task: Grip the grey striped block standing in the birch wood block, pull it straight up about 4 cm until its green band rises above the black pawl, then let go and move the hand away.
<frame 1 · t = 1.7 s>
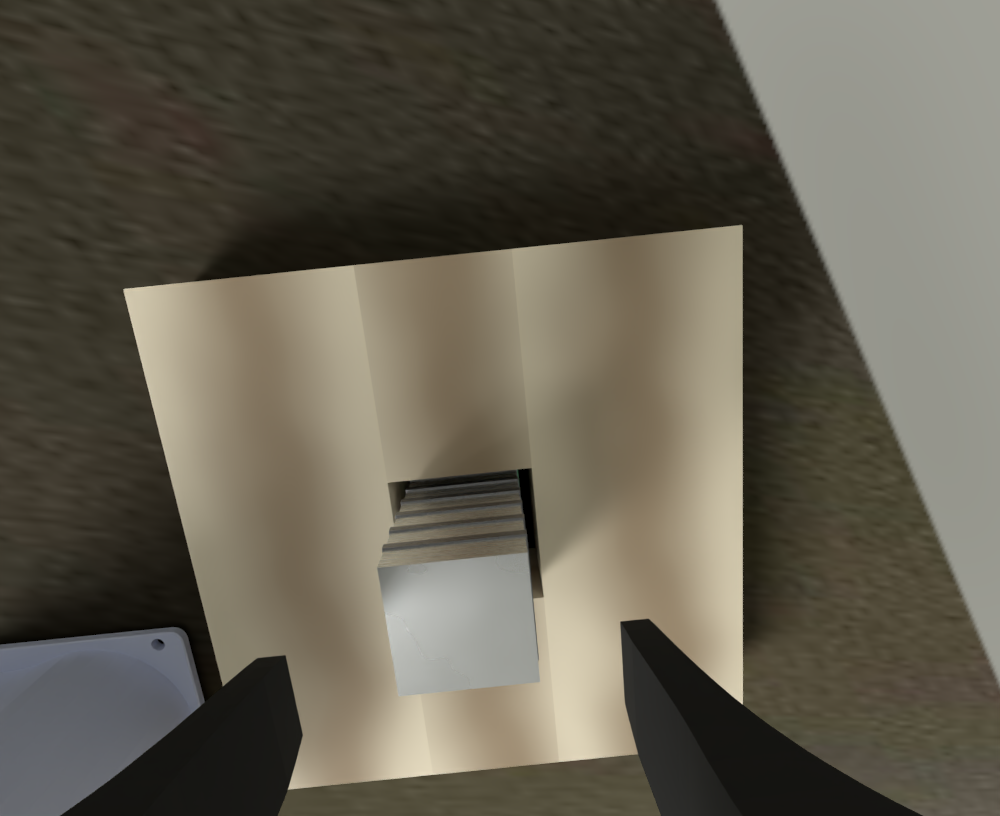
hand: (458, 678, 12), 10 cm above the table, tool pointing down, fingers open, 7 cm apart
stand block: (471, 500, 21), on the table
grey striped block: (467, 551, 17), point 4 cm above the table, slide at 0.0 cm
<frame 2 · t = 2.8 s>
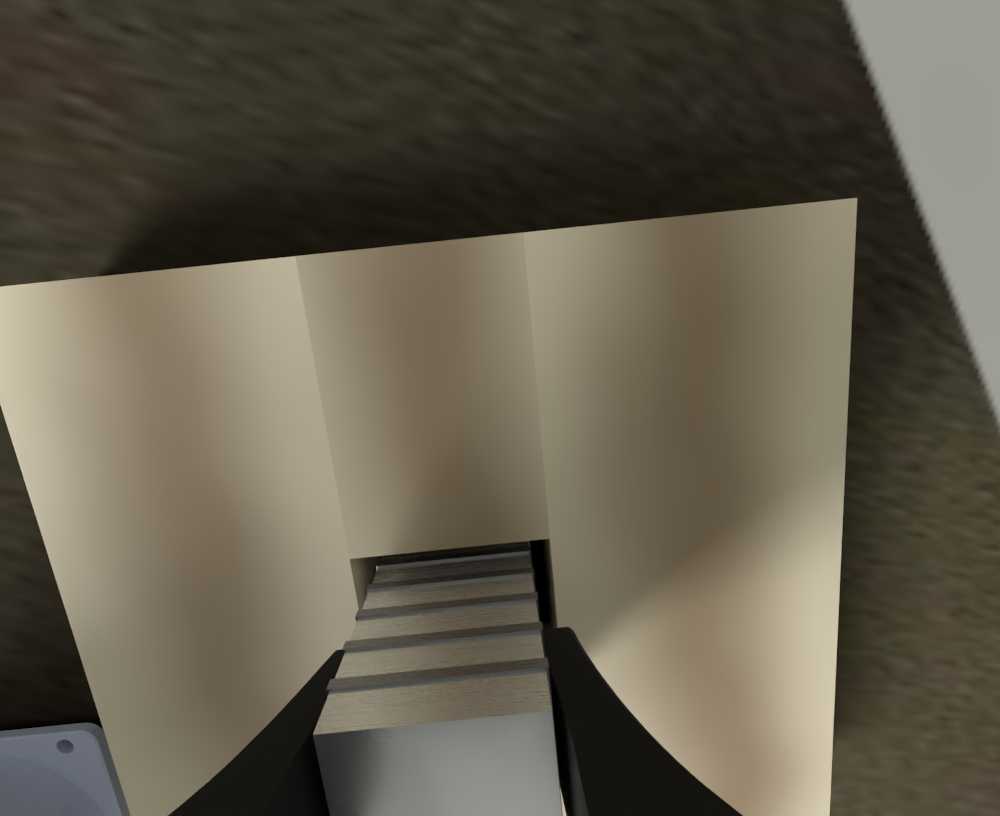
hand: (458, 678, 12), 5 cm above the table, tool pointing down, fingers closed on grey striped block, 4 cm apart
stand block: (467, 563, 16), on the table
grey striped block: (460, 655, 12), point 4 cm above the table, slide at 0.0 cm, touching gripper
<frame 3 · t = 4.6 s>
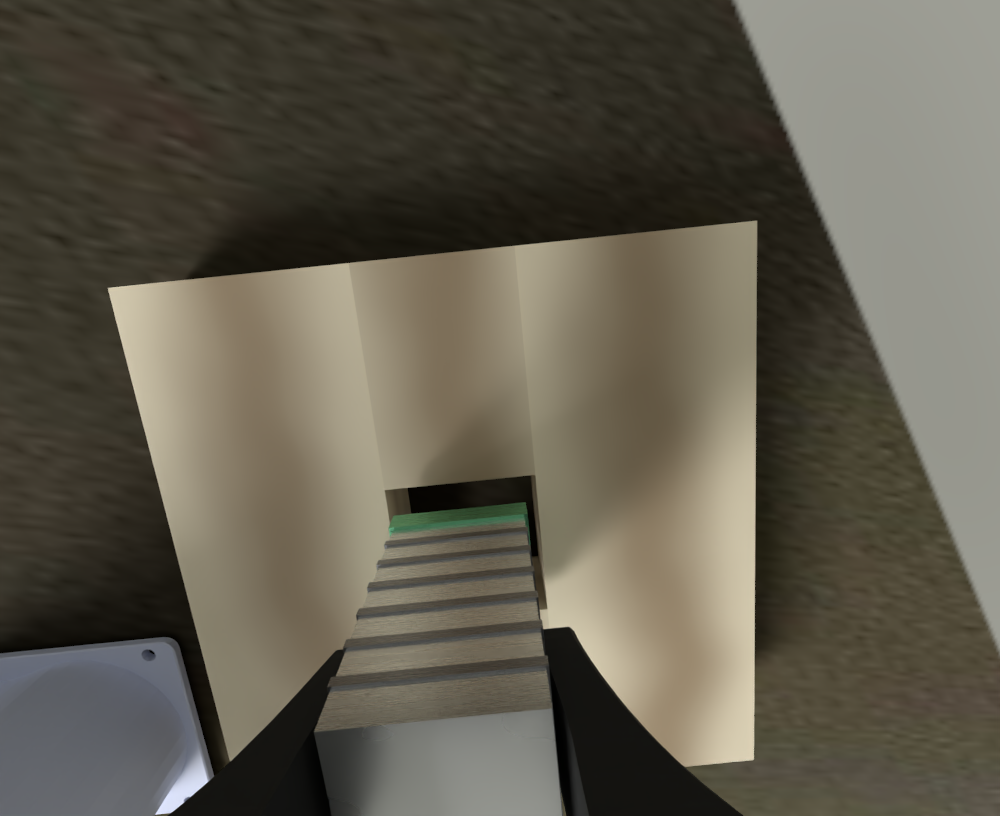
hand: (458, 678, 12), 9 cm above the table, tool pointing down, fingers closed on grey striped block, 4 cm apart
stand block: (472, 506, 20), on the table
grey striped block: (460, 653, 12), point 8 cm above the table, slide at 4.2 cm, touching gripper
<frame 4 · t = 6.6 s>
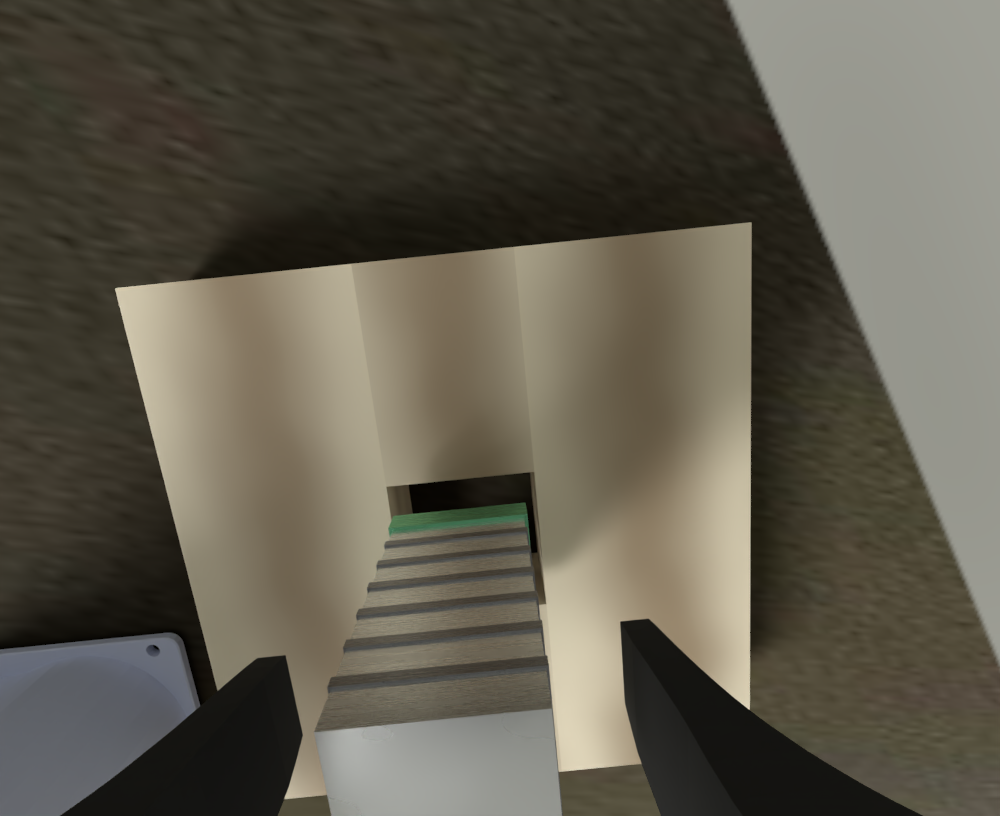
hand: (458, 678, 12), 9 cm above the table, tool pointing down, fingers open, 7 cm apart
stand block: (472, 503, 21), on the table
grey striped block: (460, 653, 12), point 9 cm above the table, slide at 4.5 cm
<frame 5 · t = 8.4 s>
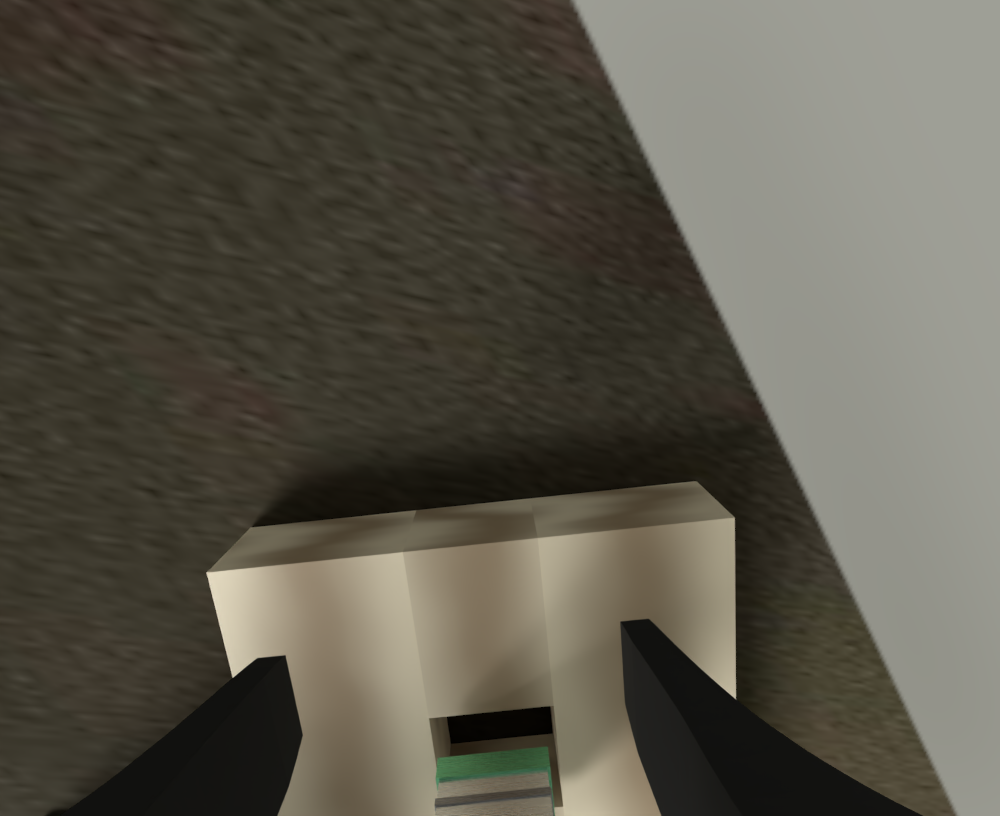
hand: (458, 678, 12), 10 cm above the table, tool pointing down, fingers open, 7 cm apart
stand block: (496, 695, 24), on the table
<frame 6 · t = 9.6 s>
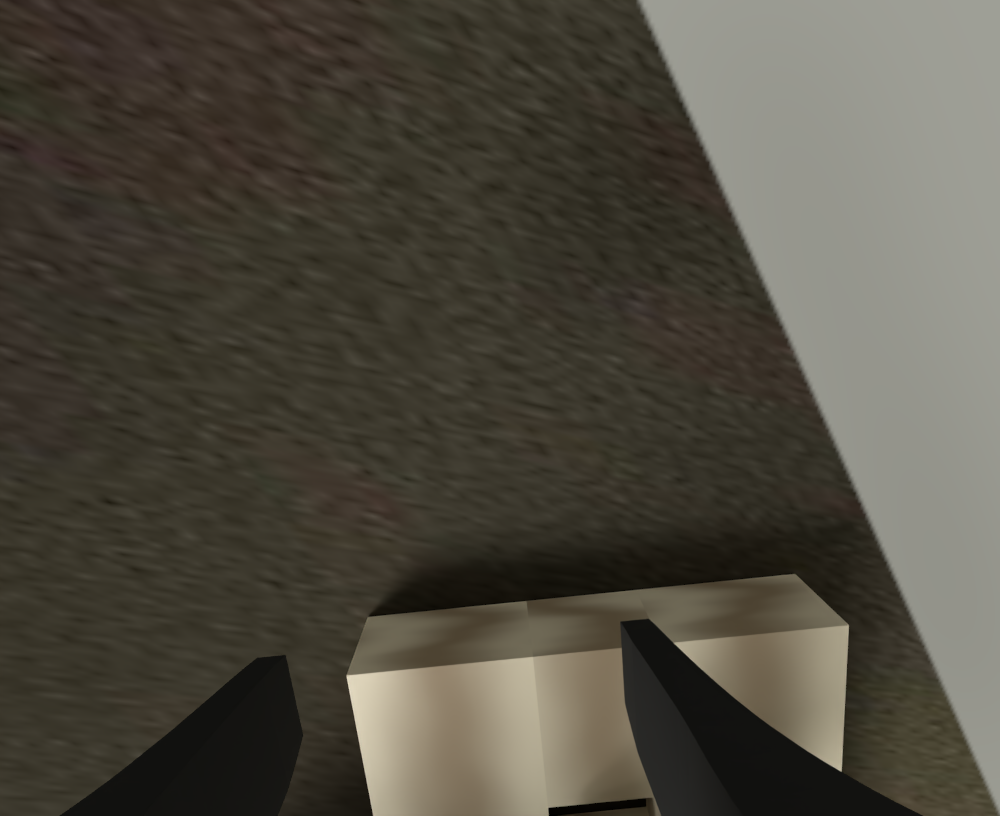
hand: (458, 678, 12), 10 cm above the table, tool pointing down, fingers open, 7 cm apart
stand block: (594, 771, 25), on the table
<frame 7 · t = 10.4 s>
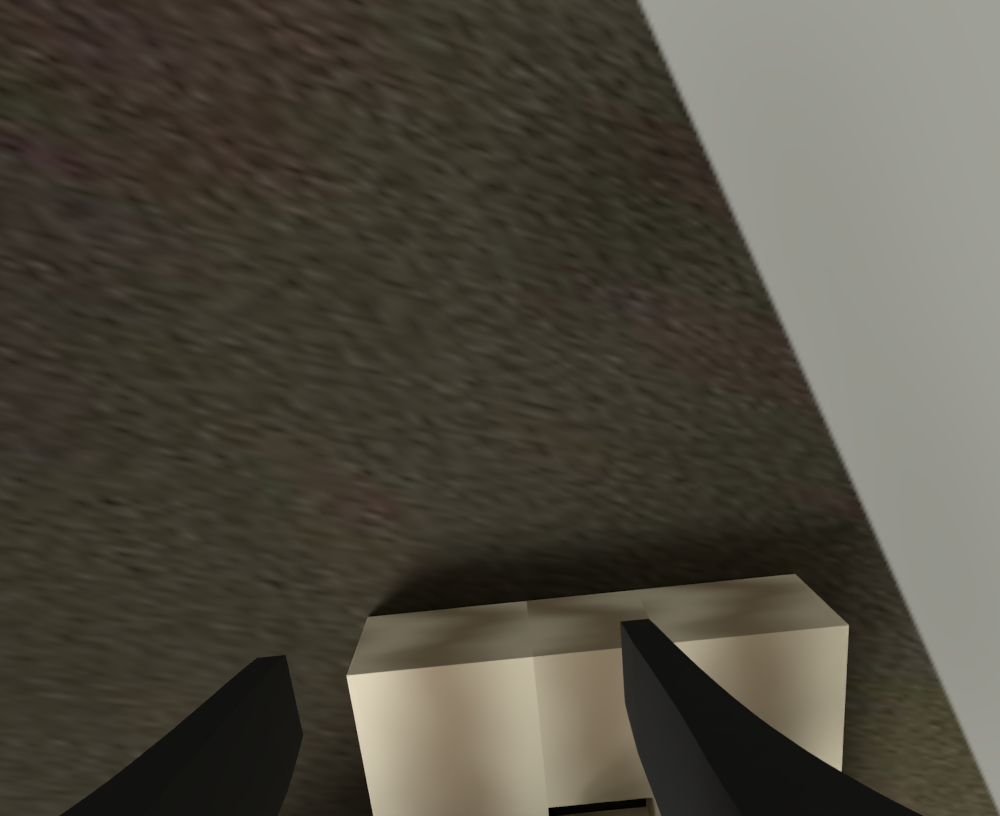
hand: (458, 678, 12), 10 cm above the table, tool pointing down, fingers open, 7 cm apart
stand block: (594, 771, 25), on the table
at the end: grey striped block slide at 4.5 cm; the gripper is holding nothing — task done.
